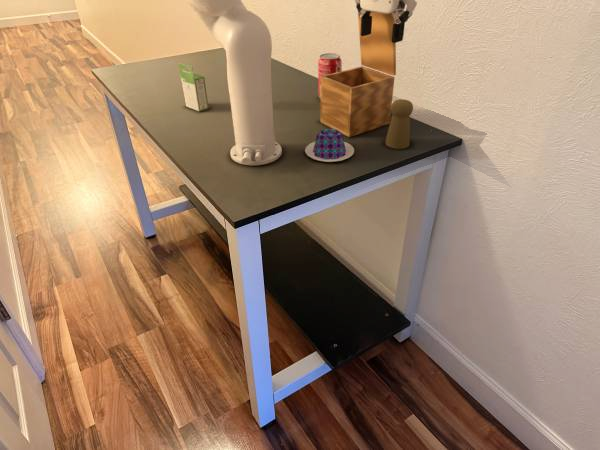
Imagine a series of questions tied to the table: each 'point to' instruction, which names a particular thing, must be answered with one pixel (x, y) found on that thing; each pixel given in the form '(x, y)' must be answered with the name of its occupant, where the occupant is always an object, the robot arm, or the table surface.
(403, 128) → the olive tapered piece
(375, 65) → the bin lid
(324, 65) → the soda can
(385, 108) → the wooden bin
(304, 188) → the table surface
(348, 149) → the pudding
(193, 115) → the table surface
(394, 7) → the robot arm
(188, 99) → the ink box
